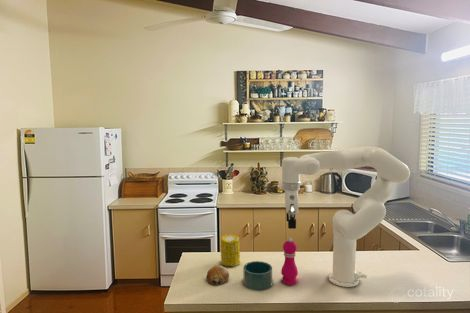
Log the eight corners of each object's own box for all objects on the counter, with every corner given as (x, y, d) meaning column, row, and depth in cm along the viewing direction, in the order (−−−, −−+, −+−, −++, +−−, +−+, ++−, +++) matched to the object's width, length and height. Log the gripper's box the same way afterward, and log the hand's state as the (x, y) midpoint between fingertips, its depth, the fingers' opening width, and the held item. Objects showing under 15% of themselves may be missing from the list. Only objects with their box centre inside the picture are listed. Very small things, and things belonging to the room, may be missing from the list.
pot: (271, 276, 146) (271, 261, 146) (272, 290, 134) (272, 274, 133) (244, 275, 148) (244, 260, 147) (242, 289, 135) (242, 273, 134)
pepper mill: (286, 276, 146) (286, 233, 144) (300, 281, 142) (301, 237, 140) (278, 282, 141) (278, 238, 139) (292, 287, 136) (293, 242, 134)
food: (239, 262, 165) (236, 272, 155) (218, 256, 166) (213, 265, 156) (246, 235, 162) (243, 243, 152) (224, 229, 163) (219, 237, 153)
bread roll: (231, 287, 144) (234, 268, 146) (219, 286, 135) (223, 267, 138) (212, 281, 149) (216, 264, 151) (200, 281, 140) (205, 262, 143)
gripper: (302, 190, 128) (302, 231, 130) (297, 182, 145) (297, 218, 147) (283, 190, 129) (283, 231, 130) (281, 182, 146) (281, 218, 148)
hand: (291, 224), depth 139 cm, fingers open, 9 cm apart
